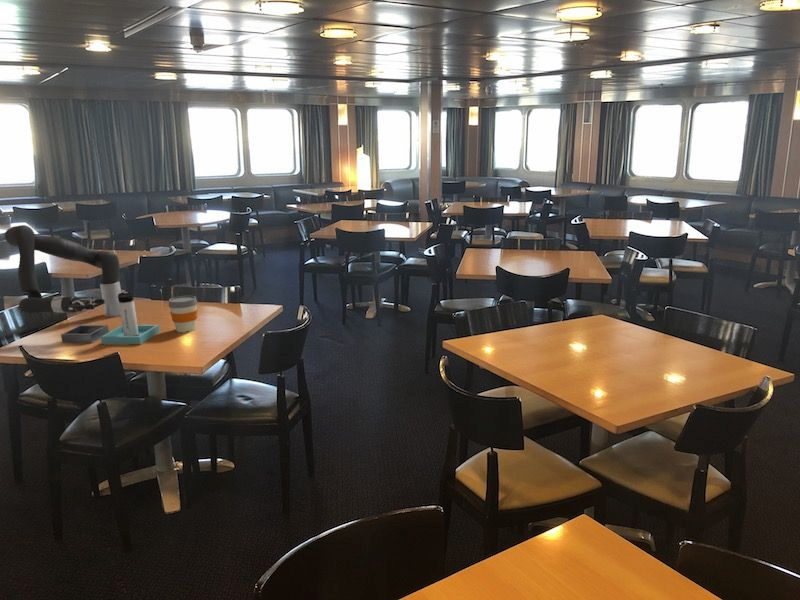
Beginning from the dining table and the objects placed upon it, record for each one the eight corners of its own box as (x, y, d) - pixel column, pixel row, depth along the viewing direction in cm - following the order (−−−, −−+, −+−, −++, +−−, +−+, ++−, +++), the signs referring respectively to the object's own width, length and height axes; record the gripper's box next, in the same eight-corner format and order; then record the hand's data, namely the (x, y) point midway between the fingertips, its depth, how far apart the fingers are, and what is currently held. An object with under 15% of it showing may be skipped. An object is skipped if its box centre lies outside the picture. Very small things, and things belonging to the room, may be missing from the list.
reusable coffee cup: (191, 334, 284) (187, 302, 280) (166, 333, 287) (162, 302, 283) (205, 326, 296) (201, 295, 292) (181, 325, 299) (177, 295, 295)
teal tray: (123, 332, 291) (122, 324, 290) (160, 332, 289) (159, 324, 288) (101, 344, 273) (100, 337, 273) (140, 344, 272) (139, 337, 271)
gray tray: (81, 333, 291) (79, 325, 290) (109, 333, 289) (107, 325, 288) (62, 342, 277) (60, 334, 276) (91, 343, 276) (90, 334, 275)
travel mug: (132, 333, 285) (126, 291, 280) (141, 335, 282) (135, 292, 277) (120, 337, 280) (114, 294, 275) (129, 339, 277) (123, 296, 272)
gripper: (53, 300, 272) (88, 300, 271) (73, 292, 286) (106, 291, 284) (57, 317, 274) (91, 316, 273) (76, 307, 288) (109, 307, 286)
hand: (99, 304), depth 279 cm, fingers open, 8 cm apart
